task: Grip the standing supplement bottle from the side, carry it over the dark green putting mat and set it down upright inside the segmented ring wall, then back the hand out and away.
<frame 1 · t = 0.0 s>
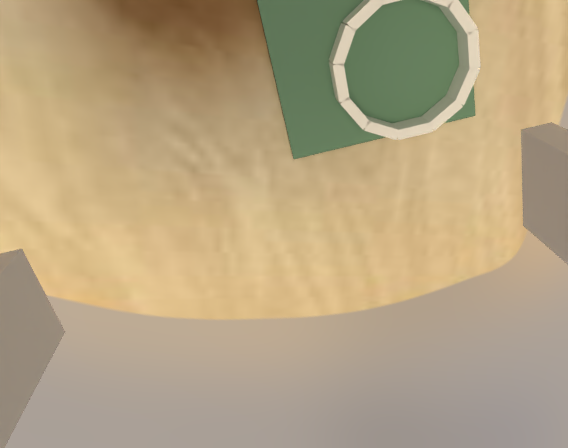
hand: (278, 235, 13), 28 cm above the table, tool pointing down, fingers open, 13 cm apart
putting mat: (364, 13, 37), on the table
segmented ring wall: (398, 61, 39), resting on putting mat
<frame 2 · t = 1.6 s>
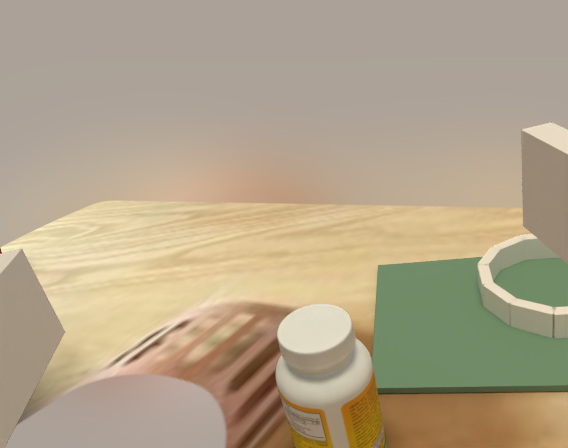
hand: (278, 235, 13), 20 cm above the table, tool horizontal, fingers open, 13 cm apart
putting mat: (503, 315, 38), on the table
segmented ring wall: (555, 296, 38), resting on putting mat
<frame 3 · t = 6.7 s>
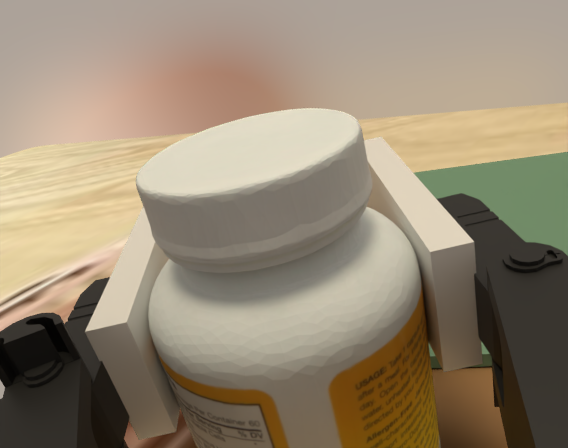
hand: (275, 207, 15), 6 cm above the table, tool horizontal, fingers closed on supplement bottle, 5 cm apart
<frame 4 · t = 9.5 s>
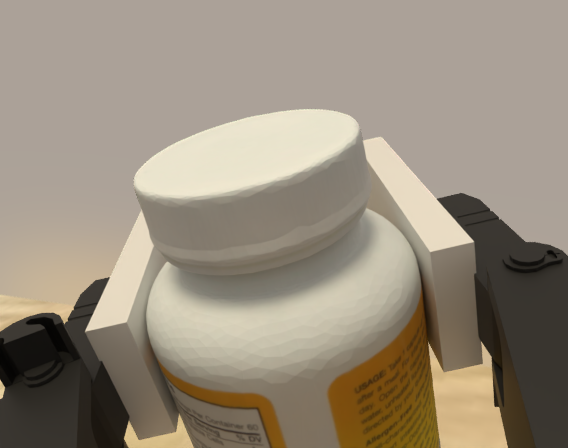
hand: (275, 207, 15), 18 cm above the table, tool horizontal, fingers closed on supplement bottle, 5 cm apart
when the fingers open (8 cm above the table, at t = 12.4 s): supplement bottle drops 1 cm, resting on putting mat.
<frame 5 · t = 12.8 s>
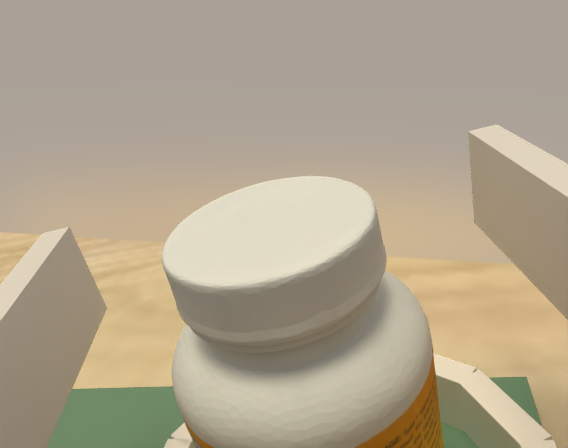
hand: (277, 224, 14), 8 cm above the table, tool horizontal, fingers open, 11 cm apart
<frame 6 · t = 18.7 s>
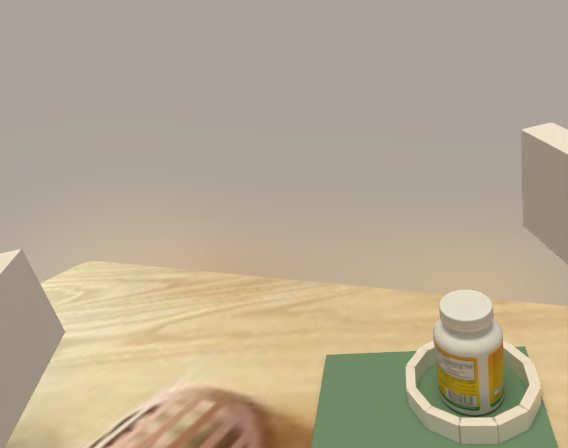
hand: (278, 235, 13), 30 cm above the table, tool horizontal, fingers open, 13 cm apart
putting mat: (425, 415, 44), on the table
segmented ring wall: (471, 396, 44), resting on putting mat
supplement bottle: (471, 394, 44), resting on putting mat
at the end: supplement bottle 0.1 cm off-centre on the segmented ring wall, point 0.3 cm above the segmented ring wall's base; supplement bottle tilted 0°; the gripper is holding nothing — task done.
